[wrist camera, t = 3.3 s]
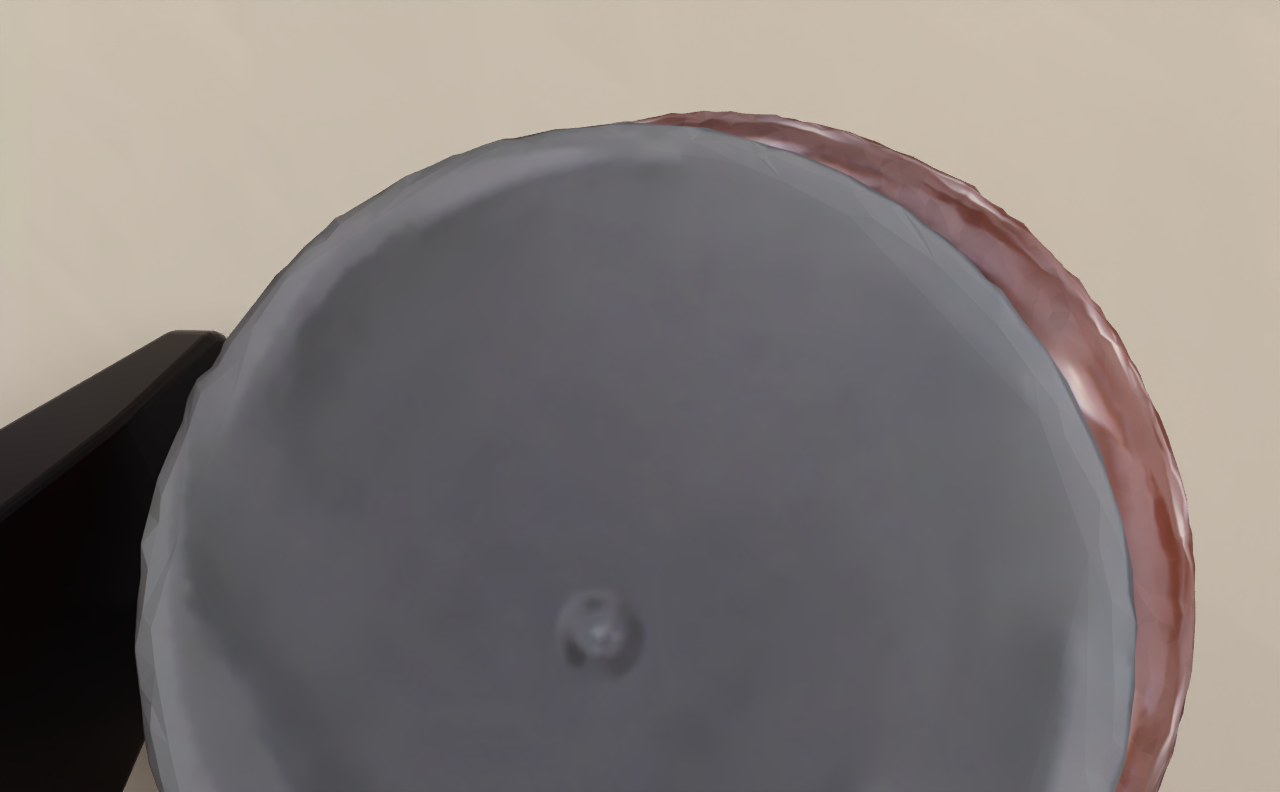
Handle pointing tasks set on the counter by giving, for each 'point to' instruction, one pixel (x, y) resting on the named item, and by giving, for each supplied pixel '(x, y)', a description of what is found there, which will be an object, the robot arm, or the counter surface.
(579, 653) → the supplement bottle
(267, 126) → the counter surface
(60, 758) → the robot arm
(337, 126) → the counter surface
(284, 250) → the counter surface
